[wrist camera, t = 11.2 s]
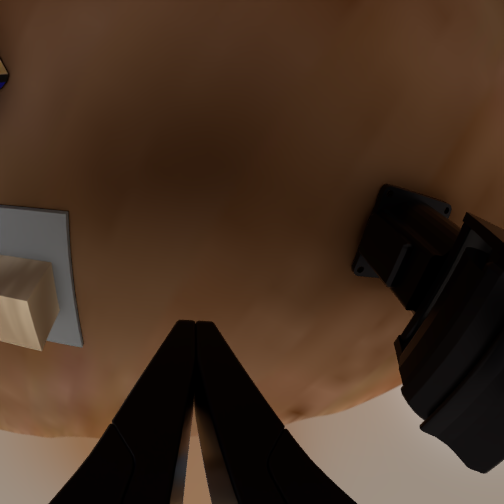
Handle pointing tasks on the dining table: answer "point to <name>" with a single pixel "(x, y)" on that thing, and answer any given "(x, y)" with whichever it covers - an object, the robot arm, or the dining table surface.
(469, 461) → the robot arm
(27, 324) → the pillar
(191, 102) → the dining table surface
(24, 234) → the mat
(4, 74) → the puzzle cube
